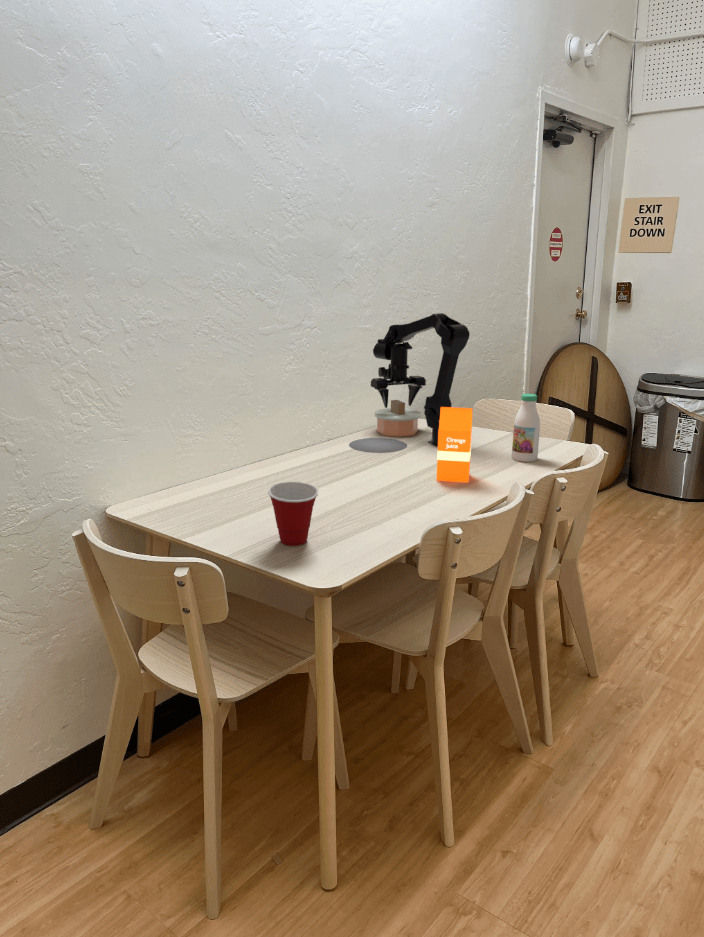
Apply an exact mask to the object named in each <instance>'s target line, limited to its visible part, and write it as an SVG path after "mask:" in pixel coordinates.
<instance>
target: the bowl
mask: <svg viewBox="0 0 704 937" xmlns="http://www.w3.org/2000/svg"><path fill="white" fill-rule="evenodd" d="M376 419H377V420H376V422H377V423H376V428H377V430H376V432H377V433H379V434H381V435H383V436H386V437H387V436H388V437H390V436H391V437H398V438H400V437H408V436H409V437H410V436H414V435H415V434H416V433H418V424H419V423H418V421H419V418H418V419H415V420H408V421H391V420H383V419H379V418H377V417H376Z"/></svg>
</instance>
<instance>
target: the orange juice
mask: <svg viewBox="0 0 704 937" xmlns="http://www.w3.org/2000/svg"><path fill="white" fill-rule="evenodd" d="M439 421H440V422H439V431H438V447H437V454H436V455H437V456H436V480H437V481H438V482H454V483H469V480H470V470H471V468H470V467H471V455H472V454H471V452H472V438H473V437H472V435H473V434H472V433H473V430H472V429H473V407H472V408H471V407H470V408H469V407H453V406H451V407H441V410H440V420H439Z"/></svg>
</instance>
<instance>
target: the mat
mask: <svg viewBox="0 0 704 937" xmlns="http://www.w3.org/2000/svg"><path fill="white" fill-rule="evenodd" d="M348 447H349V448H350V449H352V450H356V451H358V452H363V453H371V454H373V453H374V454H386V453H387V454H388V453H396V452H400V451H404V450H405V449H407V447H408V444H407V443H406V442H404V441H402V440H399V439H395V438H387V437H365V438H358V439H355V440H352V441H351V442H349V443H348Z"/></svg>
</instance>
